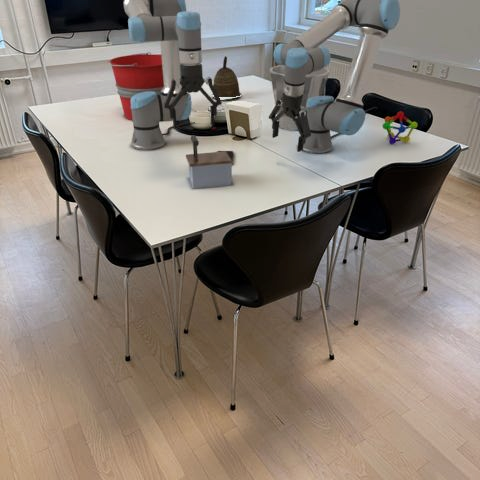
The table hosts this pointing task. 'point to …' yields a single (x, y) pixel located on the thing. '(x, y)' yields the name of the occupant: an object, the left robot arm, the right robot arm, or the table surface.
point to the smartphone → (229, 154)
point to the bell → (226, 82)
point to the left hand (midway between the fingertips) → (194, 126)
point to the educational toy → (398, 128)
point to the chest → (210, 175)
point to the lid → (206, 156)
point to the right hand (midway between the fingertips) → (287, 143)
